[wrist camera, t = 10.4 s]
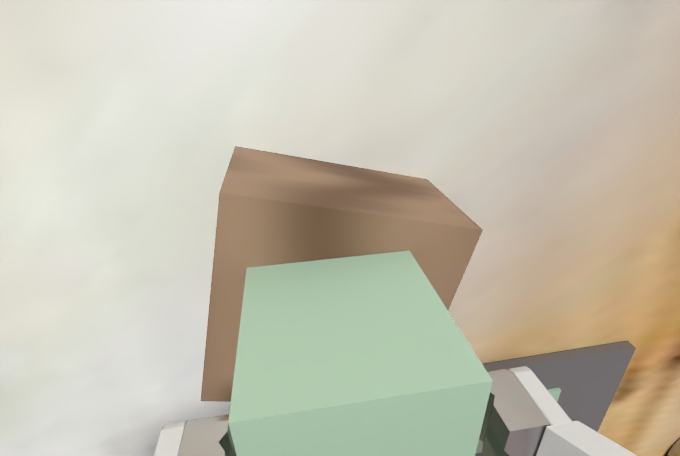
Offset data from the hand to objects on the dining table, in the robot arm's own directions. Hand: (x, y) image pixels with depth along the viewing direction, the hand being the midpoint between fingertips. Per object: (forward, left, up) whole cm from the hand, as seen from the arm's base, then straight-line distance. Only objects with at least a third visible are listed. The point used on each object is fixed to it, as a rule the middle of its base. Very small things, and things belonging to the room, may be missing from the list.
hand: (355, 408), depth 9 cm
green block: (0, 0, -3) cm, 3 cm away
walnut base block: (0, 0, -8) cm, 8 cm away
